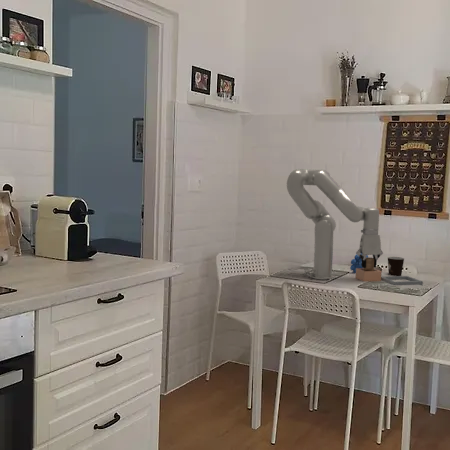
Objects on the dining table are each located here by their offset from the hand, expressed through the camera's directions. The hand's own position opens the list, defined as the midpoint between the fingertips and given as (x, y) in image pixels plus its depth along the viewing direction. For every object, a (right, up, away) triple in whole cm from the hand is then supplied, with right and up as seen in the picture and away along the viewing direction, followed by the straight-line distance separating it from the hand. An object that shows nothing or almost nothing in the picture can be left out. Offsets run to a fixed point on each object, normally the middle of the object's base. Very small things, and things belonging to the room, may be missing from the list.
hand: (368, 267), depth 318 cm
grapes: (-1, -5, +20) cm, 21 cm away
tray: (+15, -8, -3) cm, 18 cm away
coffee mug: (+18, -6, +18) cm, 26 cm away
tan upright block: (0, -6, +1) cm, 6 cm away
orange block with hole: (0, -7, +1) cm, 7 cm away
